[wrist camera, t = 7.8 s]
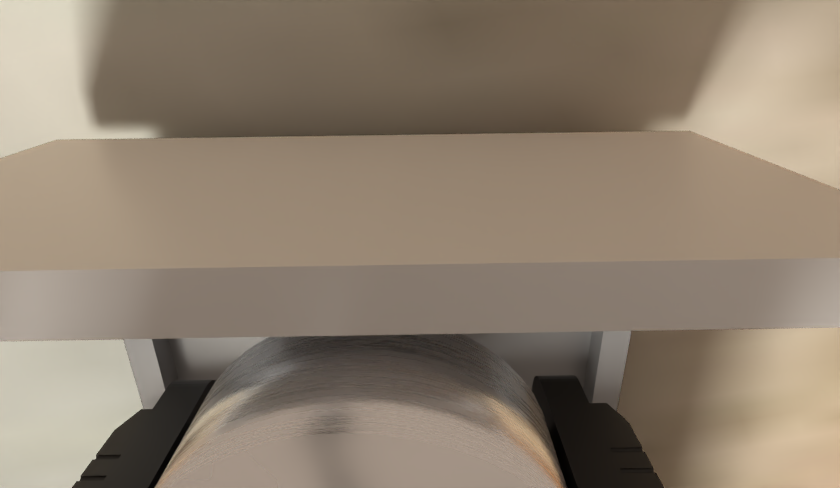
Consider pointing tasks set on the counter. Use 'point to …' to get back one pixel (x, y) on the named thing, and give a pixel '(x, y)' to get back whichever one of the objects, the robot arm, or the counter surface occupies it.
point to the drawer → (409, 245)
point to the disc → (367, 418)
